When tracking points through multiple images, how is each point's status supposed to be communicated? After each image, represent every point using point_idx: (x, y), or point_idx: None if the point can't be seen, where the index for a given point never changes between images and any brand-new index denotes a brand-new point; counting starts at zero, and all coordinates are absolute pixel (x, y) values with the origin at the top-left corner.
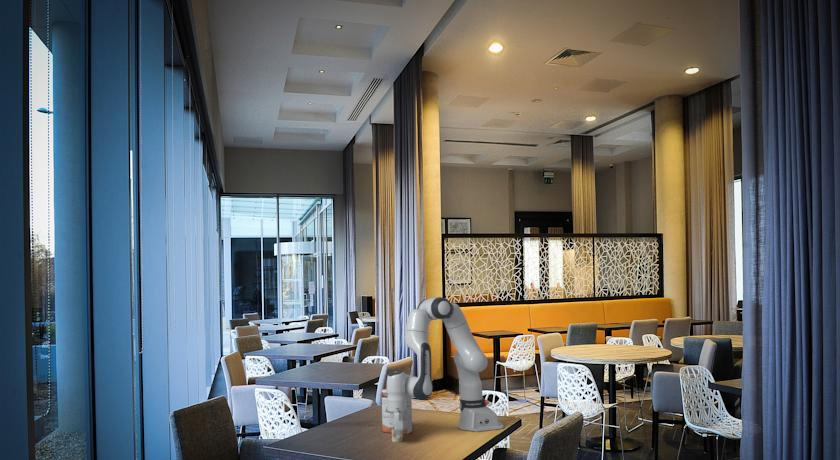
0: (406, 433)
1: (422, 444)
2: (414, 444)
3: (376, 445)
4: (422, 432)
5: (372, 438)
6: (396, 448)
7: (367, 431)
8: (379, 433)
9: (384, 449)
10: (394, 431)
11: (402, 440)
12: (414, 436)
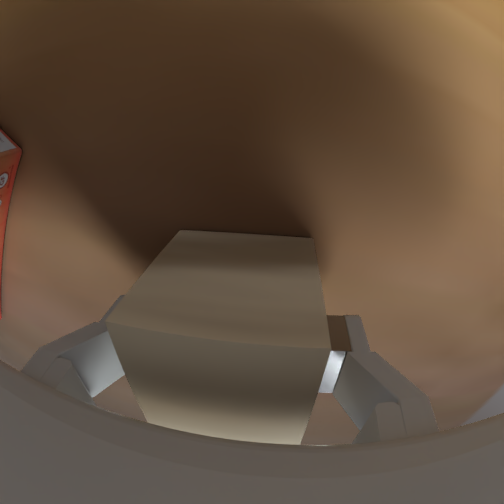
0: (13, 155)
1: (499, 52)
2: (484, 130)
3: (336, 429)
4: (4, 16)
5: (135, 409)
6: (496, 328)
7: (15, 367)
8: (24, 339)
9: (458, 393)
10: (303, 432)
11: (313, 245)
12: (85, 56)
